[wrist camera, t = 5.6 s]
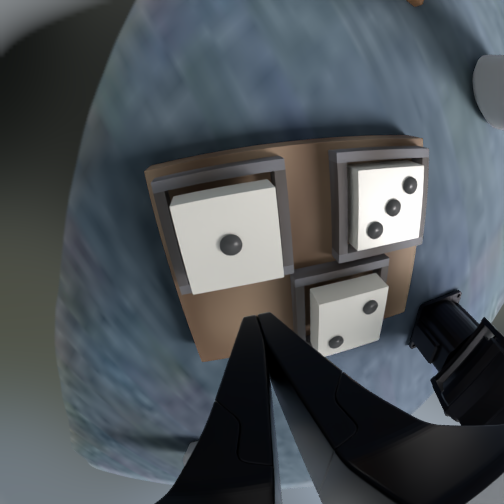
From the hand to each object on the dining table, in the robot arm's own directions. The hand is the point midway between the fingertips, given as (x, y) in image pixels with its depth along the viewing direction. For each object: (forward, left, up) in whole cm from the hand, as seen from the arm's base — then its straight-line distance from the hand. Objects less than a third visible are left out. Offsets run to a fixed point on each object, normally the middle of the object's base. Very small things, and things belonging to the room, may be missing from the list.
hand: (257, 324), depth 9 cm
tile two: (-7, +8, -8) cm, 13 cm away
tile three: (-10, 0, -9) cm, 13 cm away
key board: (-5, +4, -11) cm, 13 cm away
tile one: (0, 0, -8) cm, 8 cm away
